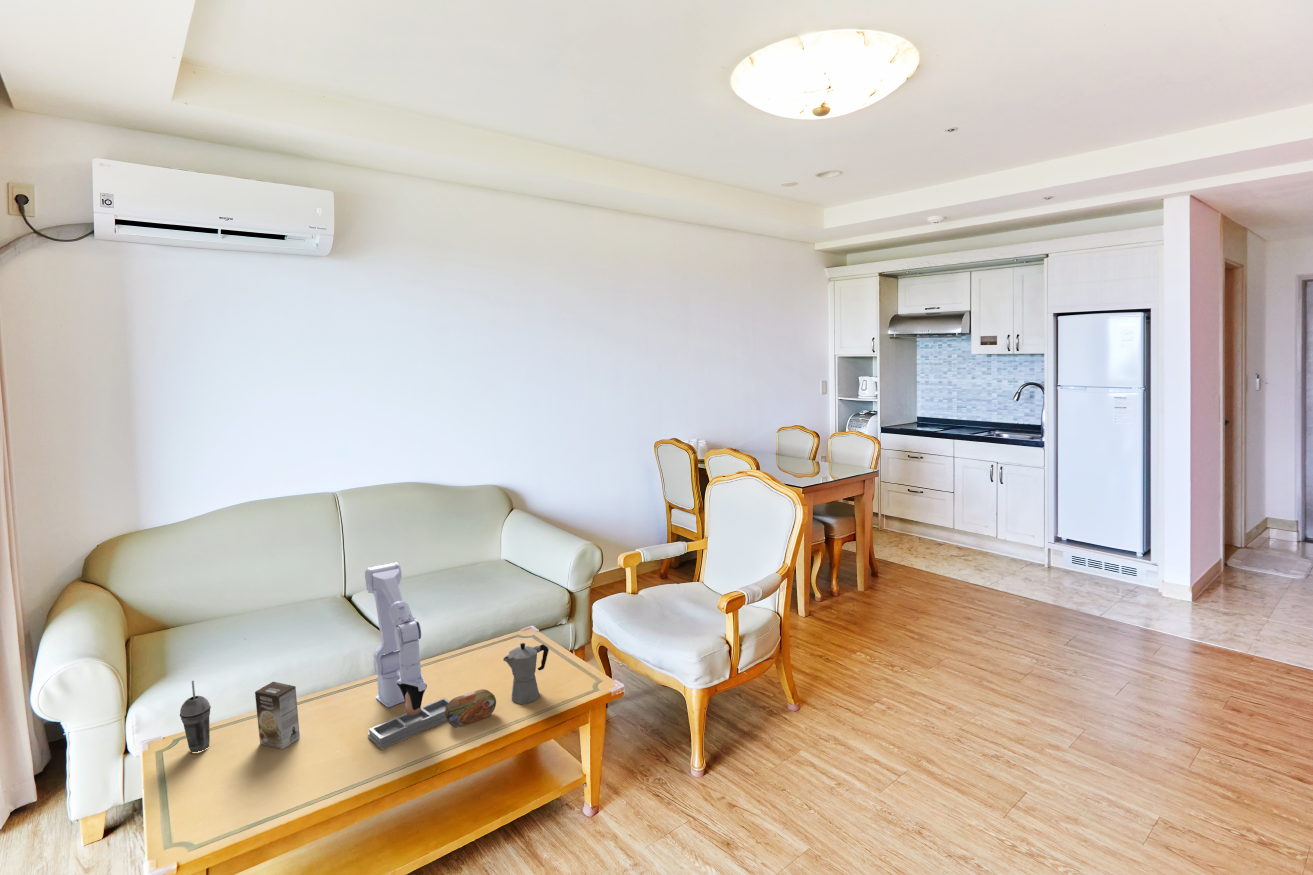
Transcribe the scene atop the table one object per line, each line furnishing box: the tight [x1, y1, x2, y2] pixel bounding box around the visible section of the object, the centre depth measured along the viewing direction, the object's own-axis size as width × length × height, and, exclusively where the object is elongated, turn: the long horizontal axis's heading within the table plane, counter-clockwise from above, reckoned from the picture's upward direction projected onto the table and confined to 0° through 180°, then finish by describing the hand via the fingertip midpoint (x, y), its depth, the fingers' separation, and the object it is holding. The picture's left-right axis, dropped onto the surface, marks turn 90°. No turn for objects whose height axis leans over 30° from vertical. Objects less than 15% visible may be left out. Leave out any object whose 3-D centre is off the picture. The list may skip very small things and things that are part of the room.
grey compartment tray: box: [367, 697, 451, 750], centre depth 198 cm, size 9×24×3 cm, turn 136°
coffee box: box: [254, 681, 301, 750], centre depth 191 cm, size 9×6×16 cm
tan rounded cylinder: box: [404, 692, 422, 715], centre depth 197 cm, size 4×4×7 cm
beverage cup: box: [179, 680, 212, 752], centre depth 188 cm, size 7×7×20 cm
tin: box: [445, 688, 497, 728], centre depth 200 cm, size 15×3×8 cm, turn 123°
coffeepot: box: [503, 642, 550, 705], centre depth 213 cm, size 15×9×18 cm, turn 125°
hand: (413, 705), depth 197 cm, fingers closed on tan rounded cylinder, 4 cm apart
